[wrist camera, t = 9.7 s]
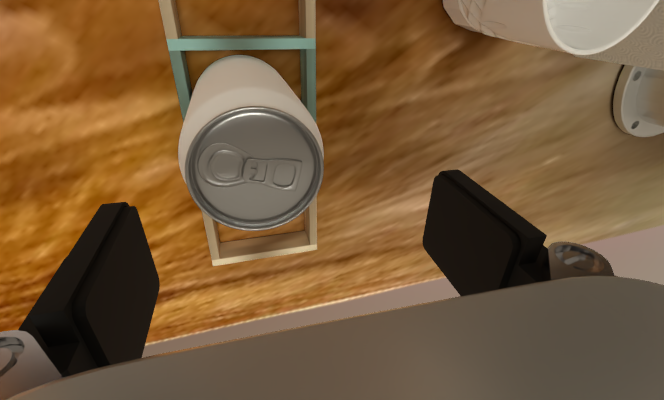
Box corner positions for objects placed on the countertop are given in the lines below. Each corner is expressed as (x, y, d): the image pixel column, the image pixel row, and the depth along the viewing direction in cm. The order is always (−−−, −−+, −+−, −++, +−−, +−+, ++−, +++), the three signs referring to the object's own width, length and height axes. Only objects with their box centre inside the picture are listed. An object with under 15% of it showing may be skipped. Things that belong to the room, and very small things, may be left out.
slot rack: (305, -124, 19) (314, -137, 17) (311, 235, 31) (316, 249, 29) (136, -143, 17) (125, -160, 15) (213, 249, 29) (212, 266, 27)
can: (198, 41, 21) (177, 76, 11) (297, 66, 24) (351, 113, 14) (190, 138, 24) (168, 234, 14) (279, 152, 26) (314, 242, 16)
